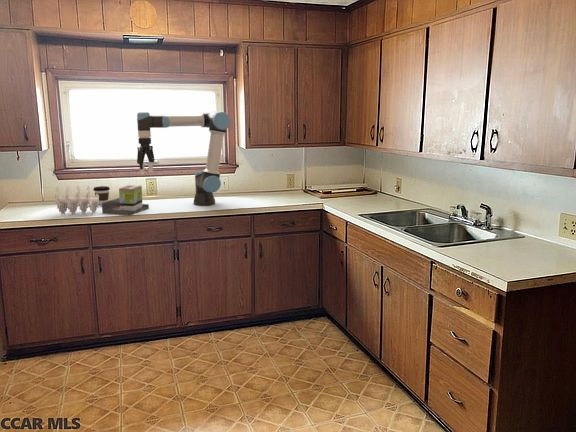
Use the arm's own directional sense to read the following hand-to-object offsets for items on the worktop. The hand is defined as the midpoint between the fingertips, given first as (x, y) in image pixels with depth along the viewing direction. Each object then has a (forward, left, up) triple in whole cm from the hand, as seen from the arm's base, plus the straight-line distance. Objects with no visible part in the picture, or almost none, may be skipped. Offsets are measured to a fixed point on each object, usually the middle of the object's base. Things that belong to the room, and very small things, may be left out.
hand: (146, 173), depth 302 cm
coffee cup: (+46, -15, -26) cm, 55 cm away
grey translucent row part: (+41, +16, -26) cm, 51 cm away
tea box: (+13, 0, -24) cm, 27 cm away
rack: (+17, 0, -25) cm, 31 cm away
